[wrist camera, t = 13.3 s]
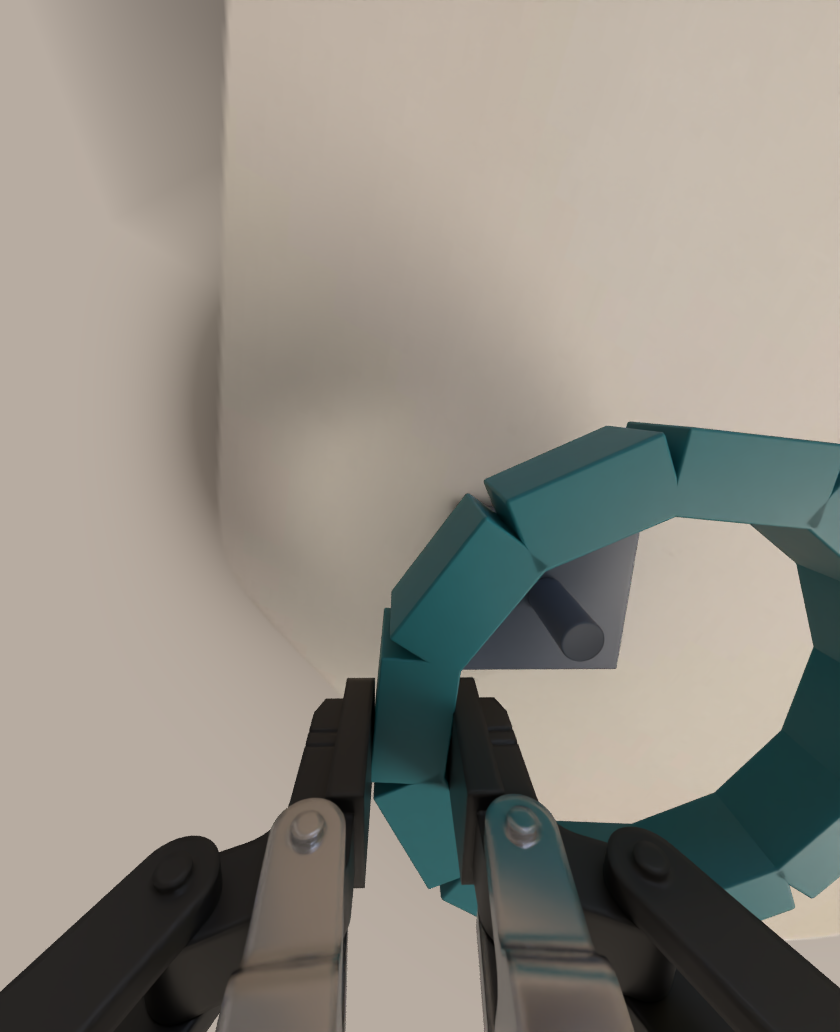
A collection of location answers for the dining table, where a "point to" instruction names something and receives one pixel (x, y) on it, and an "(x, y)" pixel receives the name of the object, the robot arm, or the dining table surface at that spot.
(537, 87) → the dining table surface
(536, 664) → the peg
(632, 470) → the ring
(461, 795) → the robot arm
